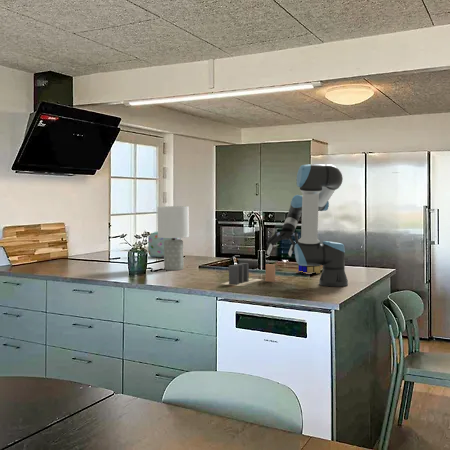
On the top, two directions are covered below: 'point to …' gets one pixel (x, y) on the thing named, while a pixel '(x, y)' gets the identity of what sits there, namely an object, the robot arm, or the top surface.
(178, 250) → the lamp
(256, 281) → the birch board
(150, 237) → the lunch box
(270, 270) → the salmon orange block
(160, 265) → the top surface
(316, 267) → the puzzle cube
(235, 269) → the dark grey block
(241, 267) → the grey rectangular slab
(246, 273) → the dark grey block
